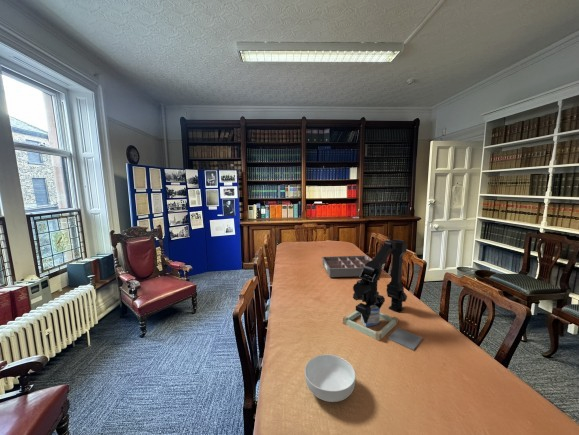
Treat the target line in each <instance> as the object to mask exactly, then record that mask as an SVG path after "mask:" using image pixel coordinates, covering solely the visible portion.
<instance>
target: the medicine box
mask: <svg viewBox="0 0 579 435" xmlns="http://www.w3.org/2000/svg"><path fill="white" fill-rule="evenodd" d="M370 308H371V314H370V317H369V319H368V322H367V323H364V320H363V317H362V314H360V323H361V324H362V326H364V327H366V328H369V327H372V326H373V327H374V326H378V325H380V320H381V319H380V313H381V308H378V307H377V306H376V305H373V306H371V307H370Z"/></svg>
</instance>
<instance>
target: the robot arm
mask: <svg viewBox="0 0 579 435" xmlns="http://www.w3.org/2000/svg"><path fill="white" fill-rule="evenodd" d="M407 249H408V243H407V241H406V240H402V239H397V238H392V239H391V240H390V239H387V240H384V242H383V244H382V246H381V248H380V249H379V250H378V252H377V253H376V255H375V256H374V258H372V260H371V261H369V262H368V263H367V264H366V265H365V266H364V267H363V270H362V272H361V274H360V276H358V278H359V279H360V280H359V279H358V280H356V283H355V284H353V286H352V290H353V292H354V293H353V294H352V298H353V300H355V301H361V302H360V303H359V304H356V306H355V311H358V312H360V313H361V314H362V317H363V320H364V323H367V322H368V319H369V317H370V314H371V308H370V307H371V306H373V305H376V306H377V307H378V308H380V309H381V308H382V306H383V305H384V303H385V301H386V298H385V297H384V295H380V292H379V291H378V281H380V280H381V278H380V276H381V273H382V271H383V269H382V267H383V265H384V263H385V262H386V260H387V259H388V257H389V256H390V254H392V262H391V279H390V282H389V283H387V284H386V295H387V298H390V299H391V300H390V301H391V302H390V306H389V307H388V309H389V310H392V311H394V312H396V313H402V312H403V311H404V310H405V307H404V306H403V303H404V302H405V303H406V301H407V298H408V296H407V294H406V293H405V291H404V290H405V287H404V285H403V283H402V269H403V256H404V255H405V254H406V253H407V251H408V250H407ZM364 275H366V276H364ZM362 302H363V303H362ZM361 314H360V315H361Z"/></svg>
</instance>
